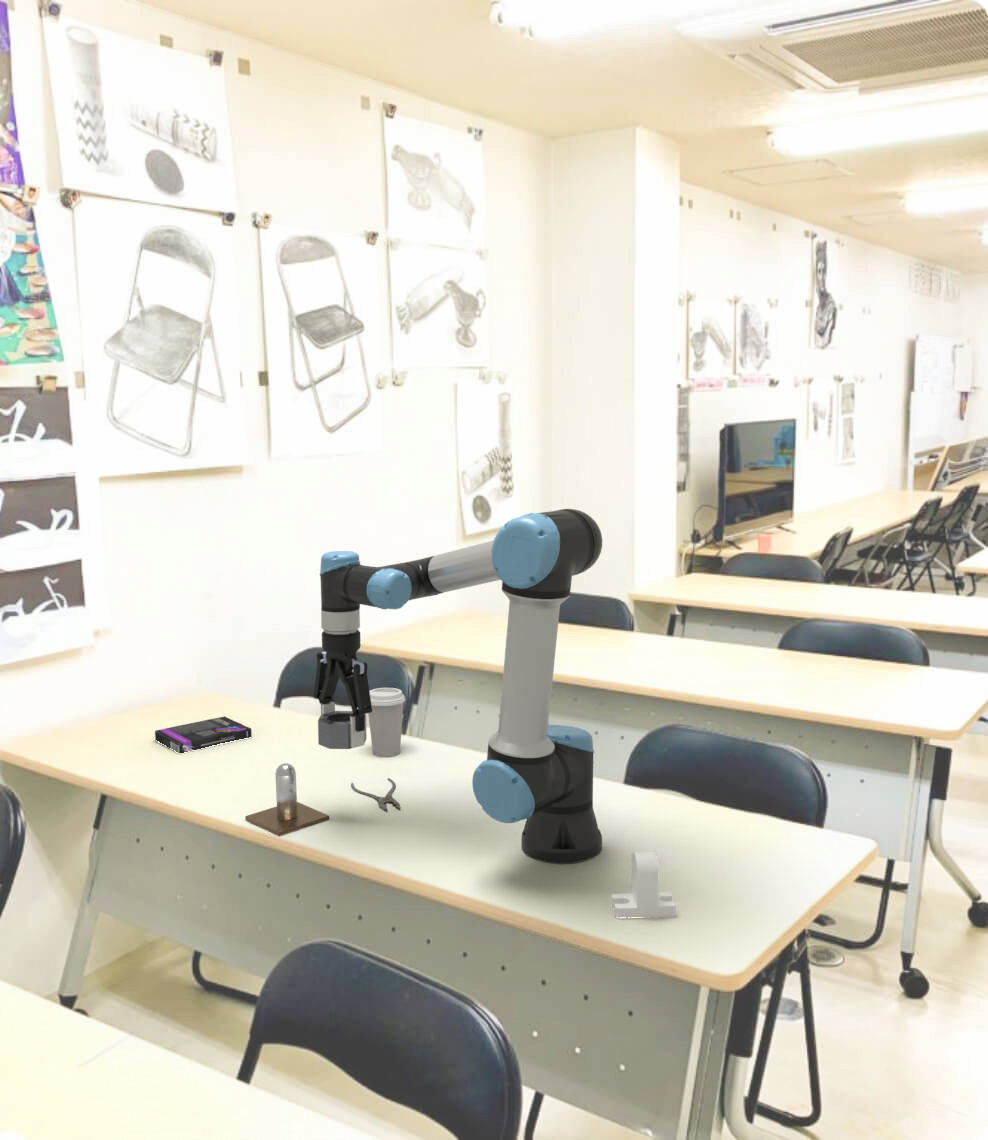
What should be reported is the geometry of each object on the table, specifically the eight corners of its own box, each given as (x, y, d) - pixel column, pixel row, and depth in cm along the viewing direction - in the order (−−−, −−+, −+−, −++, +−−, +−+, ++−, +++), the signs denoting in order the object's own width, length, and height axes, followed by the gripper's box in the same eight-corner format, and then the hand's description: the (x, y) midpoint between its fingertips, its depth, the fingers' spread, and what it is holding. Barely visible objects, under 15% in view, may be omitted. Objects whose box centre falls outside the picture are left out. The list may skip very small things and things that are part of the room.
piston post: (329, 819, 224) (327, 763, 222) (279, 836, 215) (276, 778, 214) (295, 804, 232) (293, 750, 230) (245, 819, 224) (242, 764, 222)
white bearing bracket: (676, 917, 180) (677, 858, 179) (615, 919, 180) (616, 860, 178) (669, 902, 185) (670, 845, 184) (610, 904, 185) (611, 847, 183)
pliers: (385, 775, 248) (428, 801, 232) (386, 778, 249) (428, 805, 232) (346, 783, 243) (386, 811, 227) (346, 787, 244) (387, 815, 227)
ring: (374, 742, 221) (374, 718, 221) (337, 752, 215) (336, 727, 215) (347, 731, 228) (347, 708, 227) (310, 741, 222) (310, 717, 221)
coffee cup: (414, 750, 267) (413, 690, 265) (390, 761, 259) (388, 699, 257) (383, 744, 272) (381, 684, 270) (358, 755, 264) (356, 693, 262)
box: (179, 758, 266) (252, 739, 279) (178, 744, 266) (252, 726, 278) (155, 744, 277) (226, 727, 289) (154, 730, 276) (226, 714, 288)
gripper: (390, 636, 213) (391, 749, 216) (324, 618, 228) (327, 724, 232) (358, 642, 208) (360, 757, 211) (293, 624, 223) (296, 731, 227)
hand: (342, 740), depth 222 cm, fingers closed on ring, 9 cm apart
